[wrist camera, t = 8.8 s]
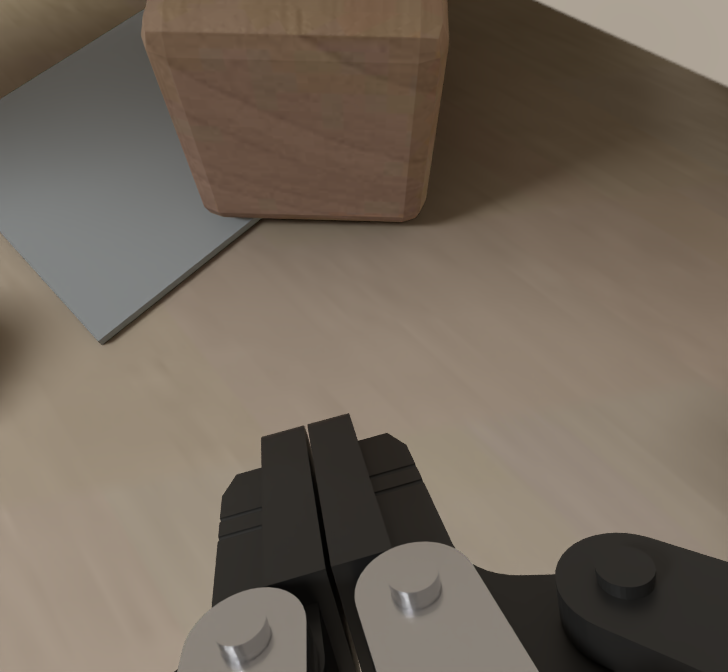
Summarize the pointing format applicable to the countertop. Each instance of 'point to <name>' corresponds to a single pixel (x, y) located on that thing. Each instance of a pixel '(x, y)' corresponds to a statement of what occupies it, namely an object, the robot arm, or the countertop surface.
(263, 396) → the countertop surface
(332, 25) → the block
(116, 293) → the mat
